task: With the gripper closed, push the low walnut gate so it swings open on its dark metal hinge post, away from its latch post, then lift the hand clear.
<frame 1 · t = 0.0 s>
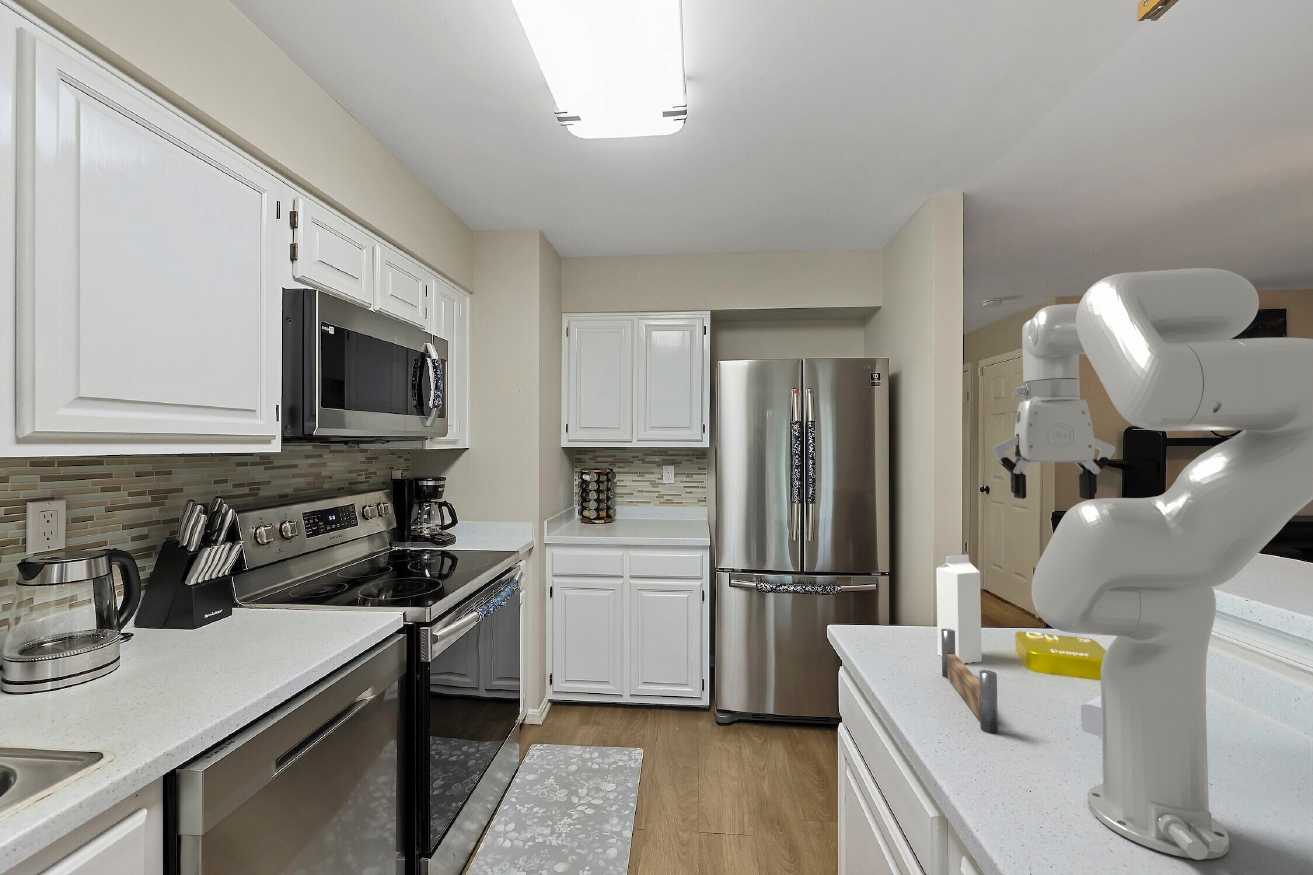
hand: (1053, 498, 92), 37 cm above the worktop, tool pointing down, fingers open, 9 cm apart
element tile: (1062, 666, 118), on the worktop
milk: (959, 659, 122), on the worktop
hinge post: (989, 729, 90), on the worktop
latch post: (948, 676, 112), on the worktop
gate: (966, 684, 101), point 3 cm above the worktop, hinge at 0.0°
charger: (1136, 732, 90), on the worktop
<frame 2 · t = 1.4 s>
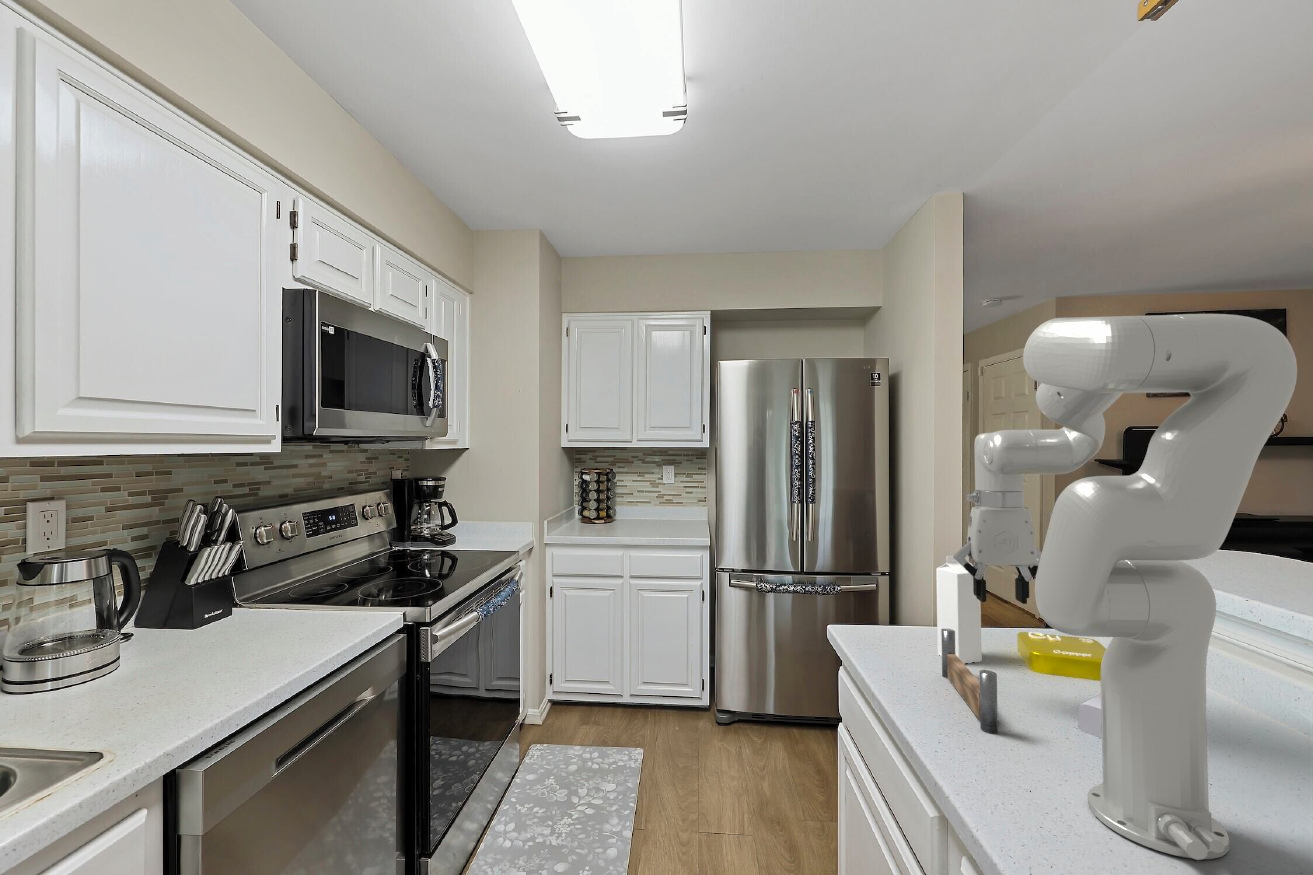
hand: (1001, 600, 102), 18 cm above the worktop, tool pointing down, fingers open, 5 cm apart
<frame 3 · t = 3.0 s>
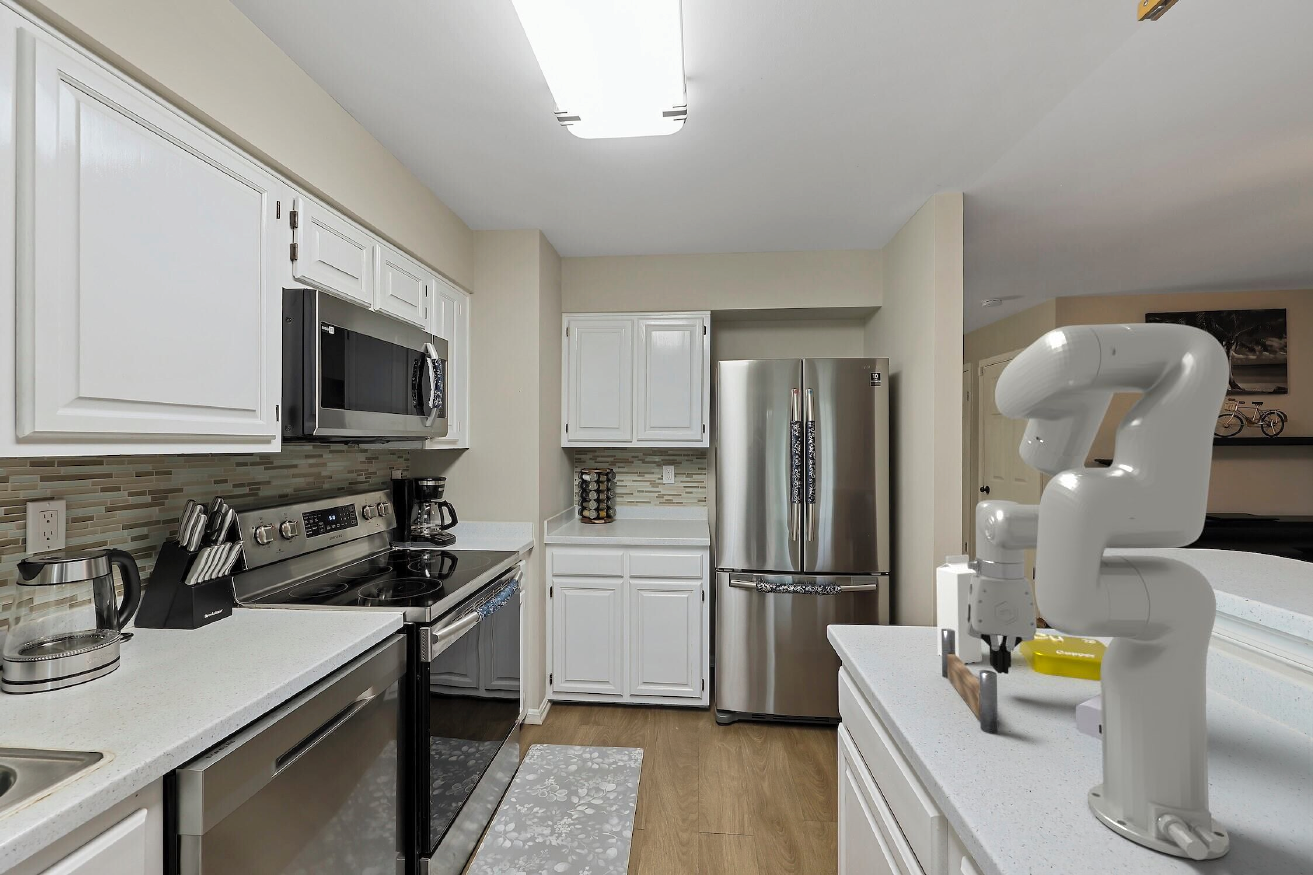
hand: (1000, 670, 103), 5 cm above the worktop, tool pointing down, fingers closed
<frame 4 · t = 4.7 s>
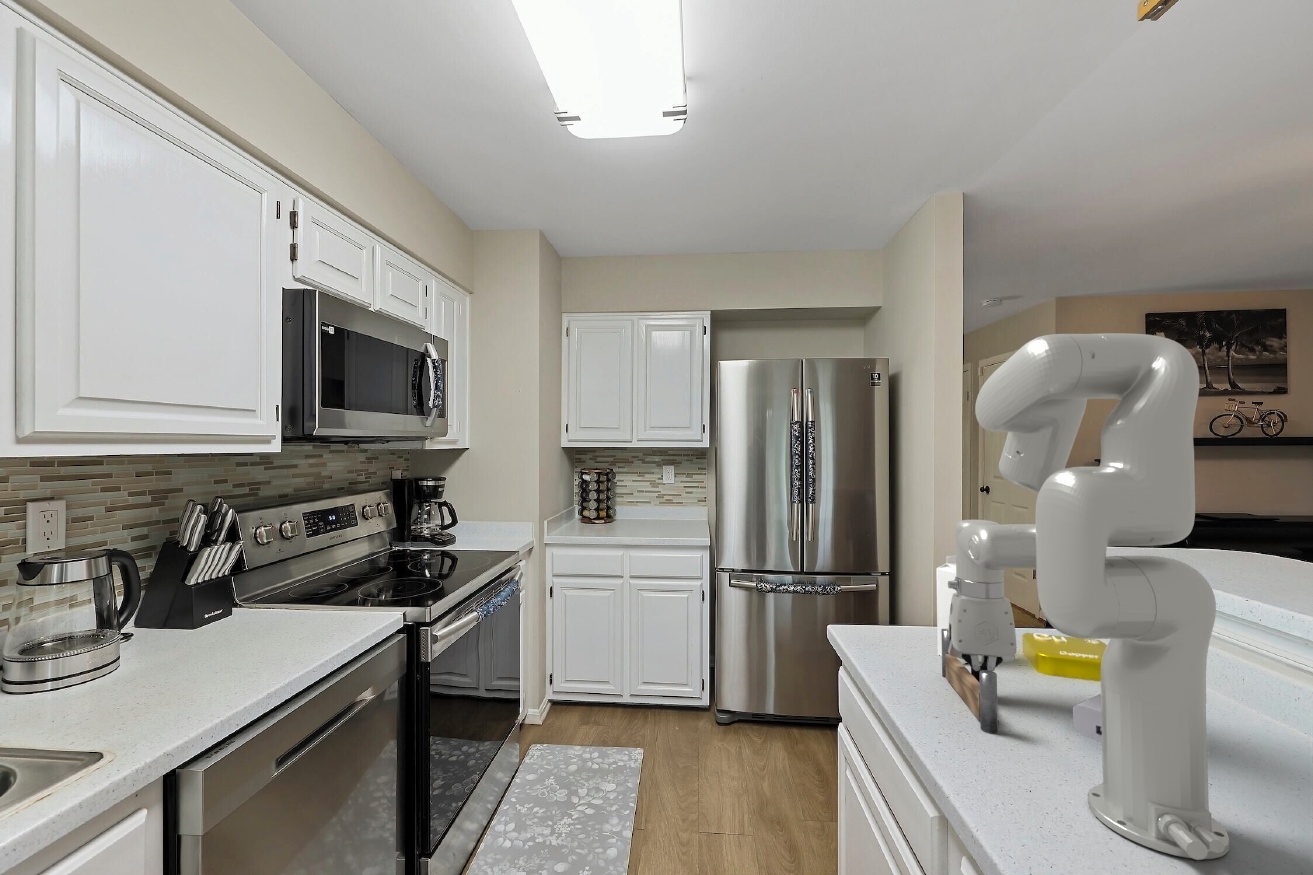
hand: (981, 690, 103), 1 cm above the worktop, tool pointing down, fingers closed
gate: (965, 684, 101), point 3 cm above the worktop, hinge at 1.0°, touching gripper
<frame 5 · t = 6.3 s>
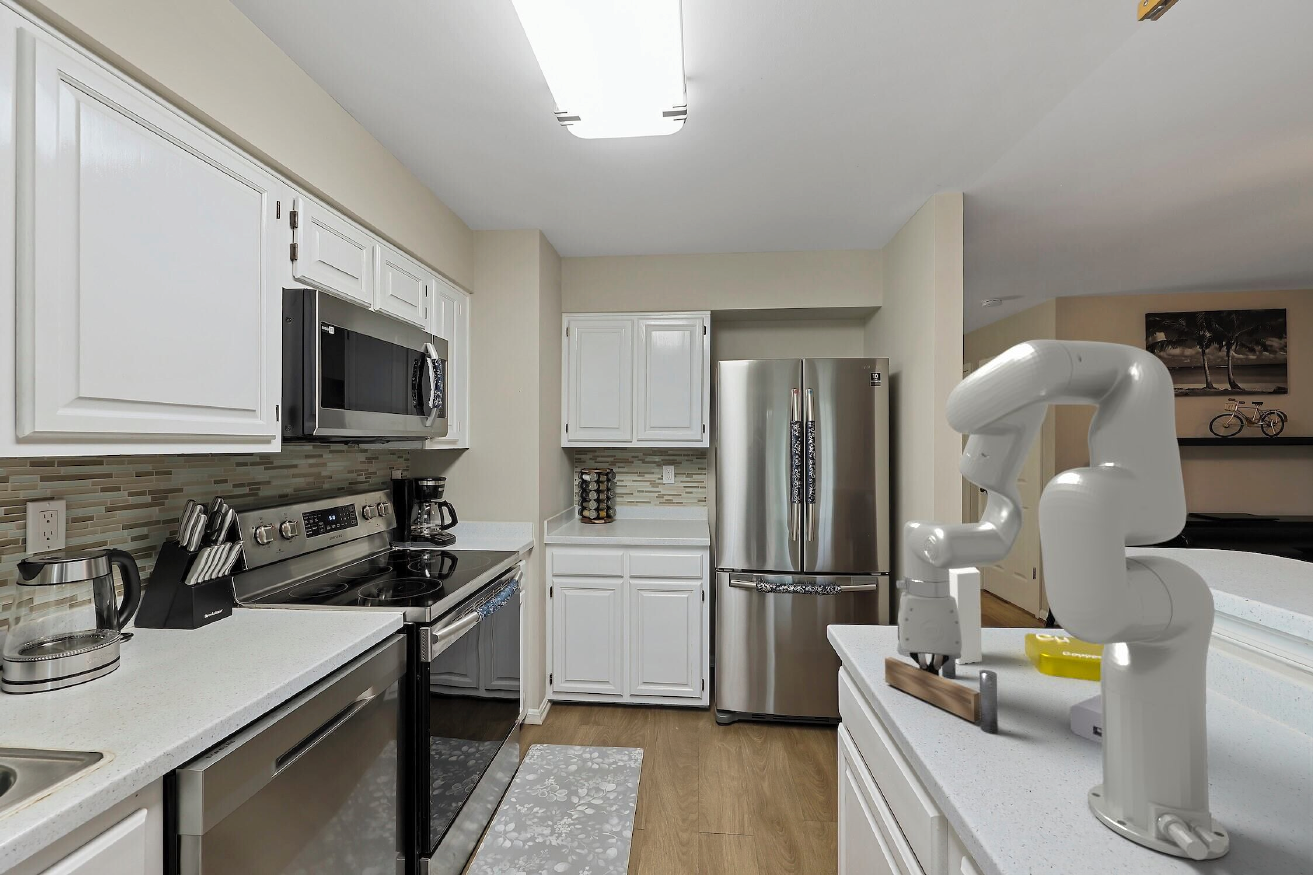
hand: (929, 688, 104), 1 cm above the worktop, tool pointing down, fingers closed
gate: (928, 686, 100), point 3 cm above the worktop, hinge at 38.3°
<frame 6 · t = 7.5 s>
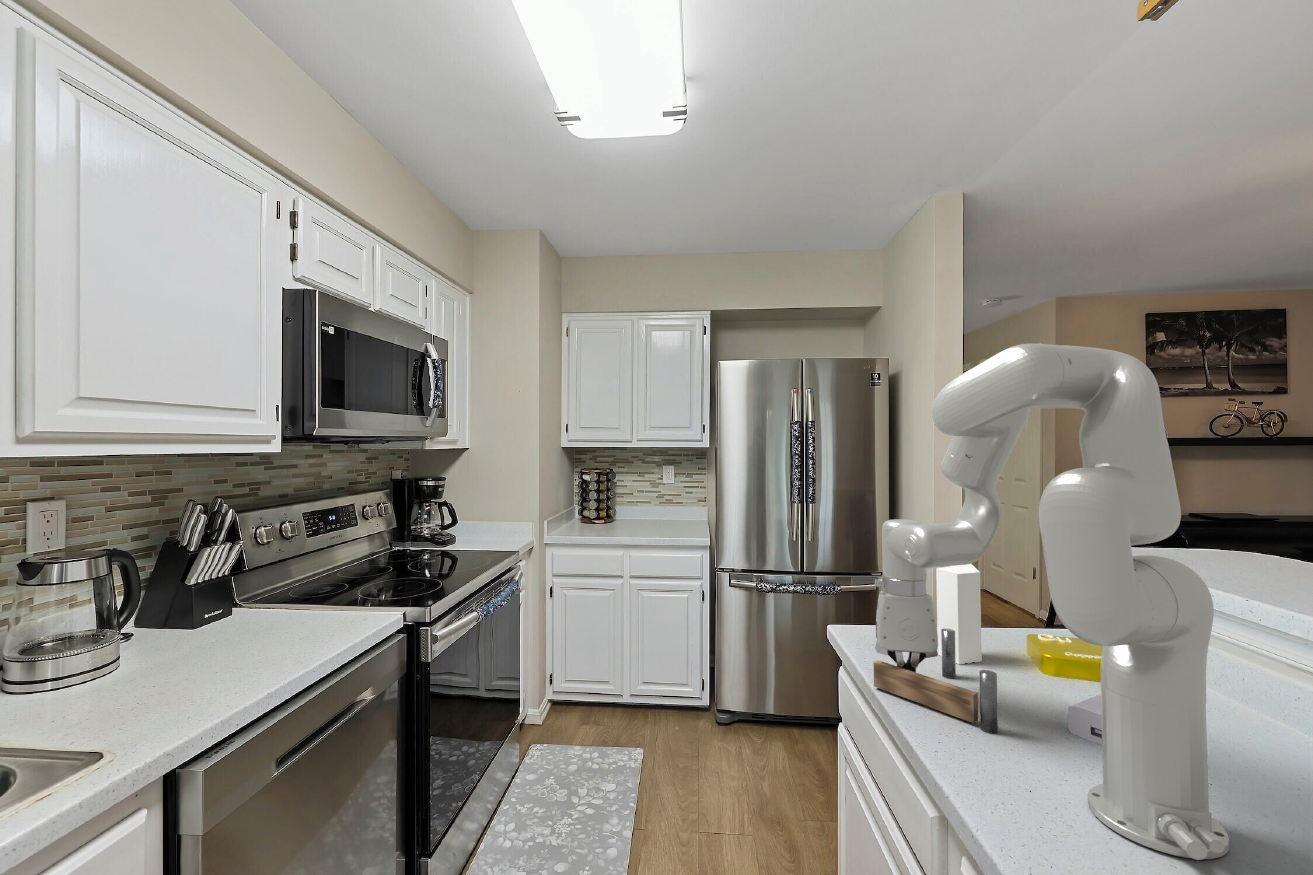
hand: (906, 686, 105), 1 cm above the worktop, tool pointing down, fingers closed
gate: (922, 689, 99), point 3 cm above the worktop, hinge at 48.2°, touching gripper
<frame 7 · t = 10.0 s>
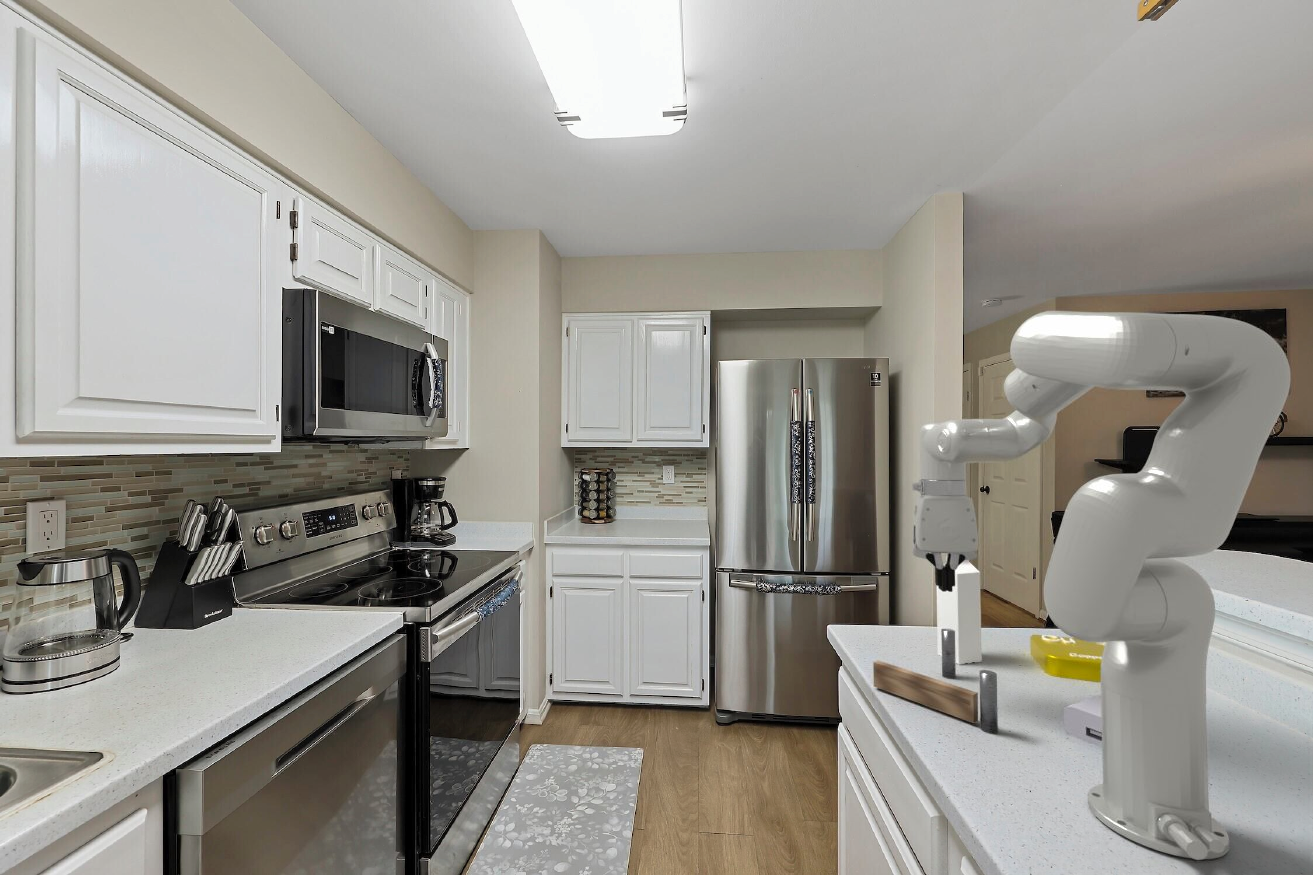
hand: (945, 589, 104), 19 cm above the worktop, tool pointing down, fingers closed
gate: (922, 689, 99), point 3 cm above the worktop, hinge at 48.3°
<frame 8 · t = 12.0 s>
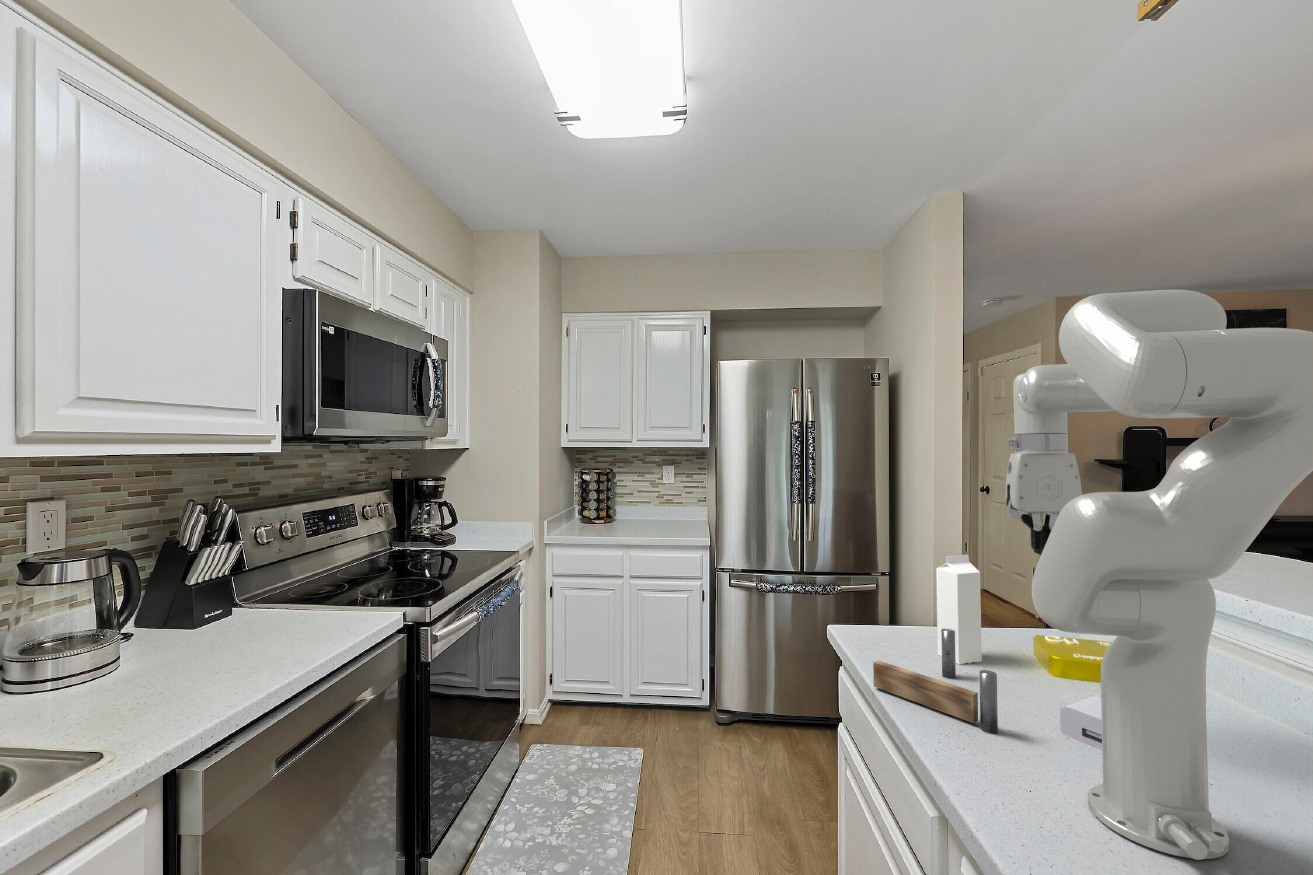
hand: (1042, 553, 96), 27 cm above the worktop, tool pointing down, fingers closed
at the end: gate at +48° (first picture: +0°); gate touching nothing; milk moved 0.2 cm from its start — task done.
